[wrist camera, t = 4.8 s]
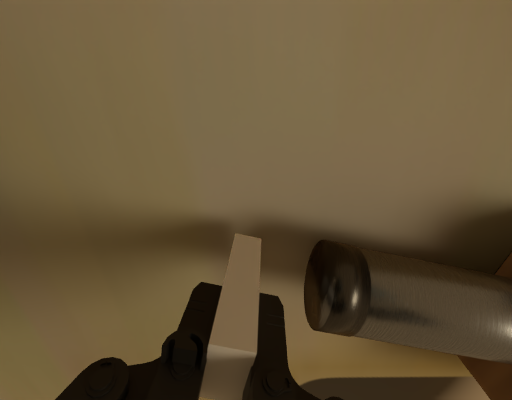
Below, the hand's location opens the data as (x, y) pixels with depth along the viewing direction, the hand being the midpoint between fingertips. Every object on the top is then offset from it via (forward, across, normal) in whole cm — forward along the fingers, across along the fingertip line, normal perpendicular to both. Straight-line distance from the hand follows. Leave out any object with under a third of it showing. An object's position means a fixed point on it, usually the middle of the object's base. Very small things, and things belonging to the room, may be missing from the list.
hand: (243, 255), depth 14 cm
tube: (+1, +15, 0) cm, 15 cm away
